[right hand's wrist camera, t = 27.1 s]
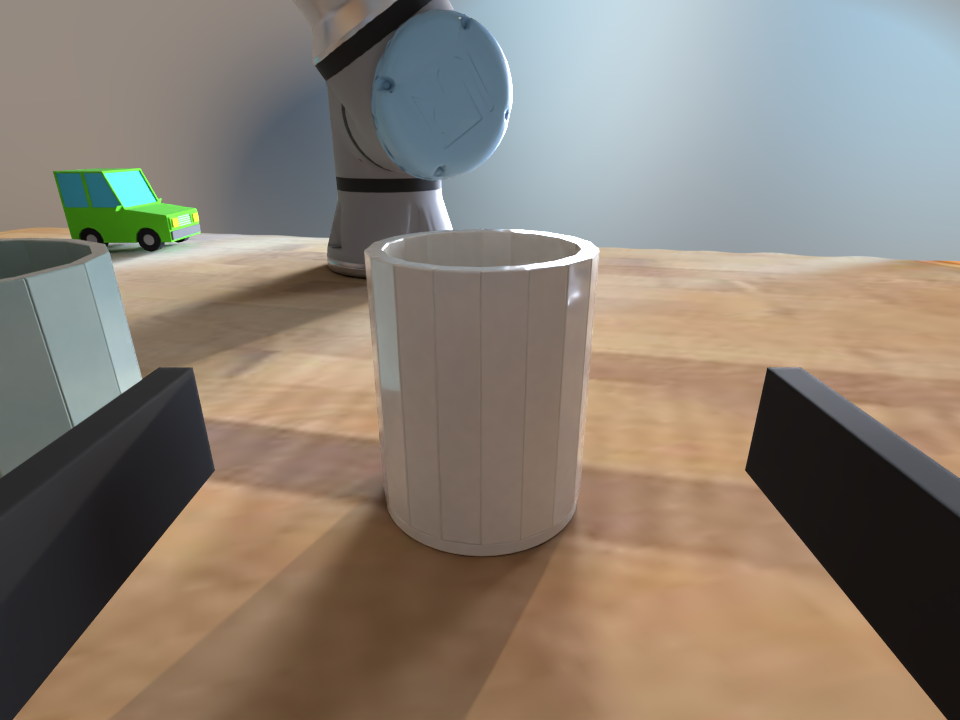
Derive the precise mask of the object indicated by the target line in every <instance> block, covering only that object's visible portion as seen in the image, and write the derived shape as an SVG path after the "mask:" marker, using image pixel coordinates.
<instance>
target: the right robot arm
mask: <svg viewBox="0 0 960 720" xmlns="http://www.w3.org/2000/svg"><path fill="white" fill-rule="evenodd" d="M214 471H215V469H214V464H213V460H212V455H211V450H210V446H209V441H208V436H207V432H206V427H205V423H204V418H203V413H202V409H201V404H200V400H199V395H198V390H197V386H196V381H195V376H194V372H193V368H158V369H156V370H155V371H153V372H152V373H151V374H149V375H148V376H146V377H145V378H143V379H142V380H141V381H139V382H138V383H136V384H135V385H133V386H132V387H131V388H129V389H128V390H126V391H125V392H123V393H122V394H120V395H119V396H118V397H116V398H115V399H113V400H112V401H110V402H109V403H108V404H106V405H105V406H103V407H102V408H100V409H99V410H98V411H96V412H95V413H93V414H92V415H90V416H89V417H88V418H86V419H85V420H83V421H82V422H80V423H79V424H78V425H76V426H75V427H73V428H72V429H70V430H69V431H68V432H66V433H65V434H63V435H62V436H60V437H59V438H58V439H56V440H55V441H53V442H52V443H50V444H49V445H47V446H46V447H45V448H43V449H42V450H40V451H39V452H37V453H36V454H35V455H33V456H32V457H30V458H29V459H27V460H26V461H25V462H23V463H22V464H20V465H19V466H17V467H16V468H15V469H13V470H12V471H10V472H9V473H7V474H6V475H5V476H3V477H2V478H0V720H13V719H14V717H15V716H16V715H17V714H18V712H19V711H20V710H21V709H22V707H23V706H24V705H25V704H26V703H27V701H28V700H29V699H30V698H31V696H32V695H33V694H34V693H35V691H36V690H37V689H38V688H39V687H40V685H41V684H42V683H43V682H44V680H45V679H46V678H47V677H48V675H49V674H50V673H51V672H52V670H53V669H54V668H55V667H56V666H57V664H58V663H59V662H60V661H61V659H62V658H63V657H64V656H65V654H66V653H67V652H68V651H69V650H70V648H71V647H72V646H73V645H74V643H75V642H76V641H77V640H78V638H79V637H80V636H81V635H82V633H83V632H84V631H85V630H86V629H87V627H88V626H89V625H90V624H91V622H92V621H93V620H94V619H95V617H96V616H97V615H98V614H99V613H100V611H101V610H102V609H103V608H104V606H105V605H106V604H107V603H108V601H109V600H110V599H111V598H112V597H113V595H114V594H115V593H116V592H117V590H118V589H119V588H120V587H121V585H122V584H123V583H124V582H125V580H126V579H127V578H128V577H129V576H130V574H131V573H132V572H133V571H134V569H135V568H136V567H137V566H138V564H139V563H140V562H141V561H142V560H143V558H144V557H145V556H146V555H147V553H148V552H149V551H150V550H151V548H152V547H153V546H154V545H155V543H156V542H157V541H158V540H159V539H160V537H161V536H162V535H163V534H164V532H165V531H166V530H167V529H168V527H169V526H170V525H171V524H172V523H173V521H174V520H175V519H176V518H177V516H178V515H179V514H180V513H181V511H182V510H183V509H184V508H185V506H186V505H187V504H188V503H189V502H190V500H191V499H192V498H193V497H194V495H195V494H196V493H197V492H198V490H199V489H200V488H201V487H202V486H203V484H204V483H205V482H206V481H207V479H208V478H209V477H210V476H211V474H212V473H213V472H214ZM745 471H746V472H747V473H748V474H749V476H750V477H751V478H752V479H753V481H754V482H755V483H756V484H757V486H758V487H759V488H760V489H761V490H762V492H763V493H764V494H765V495H766V497H767V498H768V499H769V500H770V502H771V503H772V504H773V505H774V506H775V508H776V509H777V510H778V511H779V513H780V514H781V515H782V516H783V518H784V519H785V520H786V521H787V523H788V524H789V525H790V526H791V527H792V529H793V530H794V531H795V532H796V534H797V535H798V536H799V537H800V539H801V540H802V541H803V542H804V543H805V545H806V546H807V547H808V548H809V550H810V551H811V552H812V553H813V555H814V556H815V557H816V558H817V560H818V561H819V562H820V563H821V564H822V566H823V567H824V568H825V569H826V571H827V572H828V573H829V574H830V576H831V577H832V578H833V579H834V580H835V582H836V583H837V584H838V585H839V587H840V588H841V589H842V590H843V592H844V593H845V594H846V595H847V597H848V598H849V599H850V600H851V601H852V603H853V604H854V605H855V606H856V608H857V609H858V610H859V611H860V613H861V614H862V615H863V616H864V617H865V619H866V620H867V621H868V622H869V624H870V625H871V626H872V627H873V629H874V630H875V631H876V632H877V633H878V635H879V636H880V637H881V638H882V640H883V641H884V642H885V643H886V645H887V646H888V647H889V648H890V650H891V651H892V652H893V653H894V654H895V656H896V657H897V658H898V659H899V661H900V662H901V663H902V664H903V666H904V667H905V668H906V669H907V670H908V672H909V673H910V674H911V675H912V677H913V678H914V679H915V680H916V682H917V683H918V684H919V685H920V687H921V688H922V689H923V690H924V691H925V693H926V694H927V695H928V696H929V698H930V699H931V700H932V701H933V703H934V704H935V705H936V706H937V707H938V709H939V710H940V711H941V712H942V714H943V715H944V716H945V717H946V719H947V720H960V478H958V477H957V476H955V475H954V474H953V473H951V472H950V471H948V470H947V469H945V468H944V467H943V466H941V465H940V464H938V463H937V462H935V461H934V460H933V459H931V458H930V457H928V456H927V455H925V454H924V453H923V452H921V451H920V450H918V449H917V448H915V447H914V446H913V445H911V444H910V443H908V442H907V441H905V440H904V439H902V438H901V437H900V436H898V435H897V434H895V433H894V432H892V431H891V430H890V429H888V428H887V427H885V426H884V425H882V424H881V423H880V422H878V421H877V420H875V419H874V418H872V417H871V416H870V415H868V414H867V413H865V412H864V411H862V410H861V409H860V408H858V407H857V406H855V405H854V404H852V403H851V402H850V401H848V400H847V399H845V398H844V397H842V396H841V395H840V394H838V393H837V392H835V391H834V390H832V389H831V388H829V387H828V386H827V385H825V384H824V383H822V382H821V381H819V380H818V379H817V378H815V377H814V376H812V375H811V374H809V373H808V372H807V371H805V370H804V369H802V368H767V372H766V376H765V381H764V386H763V390H762V395H761V400H760V404H759V409H758V413H757V418H756V423H755V427H754V432H753V436H752V441H751V446H750V450H749V455H748V460H747V464H746V469H745Z"/></svg>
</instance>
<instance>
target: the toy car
mask: <svg viewBox="0 0 960 720" xmlns="http://www.w3.org/2000/svg"><path fill="white" fill-rule="evenodd" d="M53 173H54V177H55V180H56V184H57V187H58V191H59V194H60V198H61V202H62V205H63V209H64V212H65V216H66V219H67V223H68V226H69V230H70V234H71V237H72V239H78V240H84V241H90V242H96V243H102V244H105V245H106V247H107V246H108V244H109V243H137V242H139V244H140V246H141V247H142V248H144V249H145V250H148V251H155V250H158V249H161V248H162V247H163V246H164V243H165V242H178V243H179V242H183V241H186V240H188V238H189V237H190V236H192V235H196V234H199V233H200V224H199V218H198V213H197V211H196V209H195V208H189V207H183V206H177V205H170V204H164V203H161V199H158V198H157V197H156V195H155V193H154V191H153V190H152V188H151V186H150V184H149V183H148V181H147V179H146V178H145V176H144V174H143V172H142V170H141V169H140V168H139V169H138V168H137V169H135V168H134V169H131V168H130V169H129V168H128V169H125V168H124V169H82V170H67V171H53Z"/></svg>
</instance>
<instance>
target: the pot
mask: <svg viewBox="0 0 960 720" xmlns="http://www.w3.org/2000/svg"><path fill="white" fill-rule="evenodd" d="M141 380H142V376H141V372H140V369H139V365H138V361H137V357H136V353H135V349H134V345H133V341H132V338H131V334H130V330H129V326H128V322H127V318H126V314H125V310H124V307H123V303H122V299H121V295H120V291H119V287H118V283H117V280H116V276H115V272H114V268H113V264H112V260H111V256H110V253H109V251H108V249H107V247H106V245H105V244H102V243H96V242H90V241H84V240H78V239H51V238H16V239H0V478H2V477H3V476H5V475H6V474H7V473H9V472H10V471H12V470H13V469H15V468H16V467H17V466H19V465H20V464H22V463H23V462H25V461H26V460H27V459H29V458H30V457H32V456H33V455H35V454H36V453H37V452H39V451H40V450H42V449H43V448H45V447H46V446H47V445H49V444H50V443H52V442H53V441H55V440H56V439H58V438H59V437H60V436H62V435H63V434H65V433H66V432H68V431H69V430H70V429H72V428H73V427H75V426H76V425H78V424H79V423H80V422H82V421H83V420H85V419H86V418H88V417H89V416H90V415H92V414H93V413H95V412H96V411H98V410H99V409H100V408H102V407H103V406H105V405H106V404H108V403H109V402H110V401H112V400H113V399H115V398H116V397H118V396H119V395H120V394H122V393H123V392H125V391H126V390H128V389H129V388H131V387H132V386H133V385H135V384H136V383H138V382H139V381H141Z"/></svg>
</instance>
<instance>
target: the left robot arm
mask: <svg viewBox="0 0 960 720" xmlns="http://www.w3.org/2000/svg"><path fill="white" fill-rule="evenodd" d="M293 1H294V2H295V4H296V5H297V7H298V8H299V10H300V11H301V13H302V14H303V16H304V17H305V18H306V20H307V21H308V23H309V24H310V25H311V27H312V31H313V36H314V38H313V57H312V62H313V64H314V65H315V66H316V68H317V69H318V71H319V72H320V73H321V75H322V76H323V78H324V79H325V82H326V85H327V88H328V98H329V109H330V119H331V129H332V139H333V149H334V160H335V170H336V180H337V192H338V201H337V206H336V211H335V215H334V220H333V225H332V229H331V234H330V238H329V243H328V249H327V252H328V253H327V259H328V267H329V269H331V270H332V271H334V272H337V273H340V274H344V275H349V276H357V277H366V266H365V254H364V251H365V249H366V248H367V247H369V246H370V245H371V244H372V243H374V242H377V241H380V240H383V239H387V238H390V237H394V236H399V235H406V234H412V233H419V232H428V231H440V230H453V229H452V226H451V224H450V221H449V217H448V214H447V211H446V208H445V205H444V202H443V199H442V191H441V180H443V179H447V178H453V177H457V176H461V175H464V174H466V173H468V172H471V171H472V170H474V169H476V168H477V167H479V166H480V165H481V164H483V163H484V162H485V161H486V160H487V159H488V158H489V157H490V156H491V154H492V153H493V152H494V151H495V149H496V148H497V147H498V145H499V143H500V141H501V140H502V138H503V136H504V133H505V131H506V128H507V123H508V120H509V115H510V110H511V106H512V83H511V76H510V71H509V67H508V64H507V61H506V59H505V56H504V54H503V51H502V49H501V48H500V46H499V44H498V43H497V41H496V40H495V38H494V37H493V36H492V34H491V33H490V32H489V31H488V30H487V29H486V28H485V27H484V26H482V25H481V24H480V23H479V22H477V21H476V20H474V19H472V18H469V17H468V16H466V15H465V14H461V13H458V12H456V11H454V9H453V7H452V6H451V4H450V2H449V0H293Z"/></svg>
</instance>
